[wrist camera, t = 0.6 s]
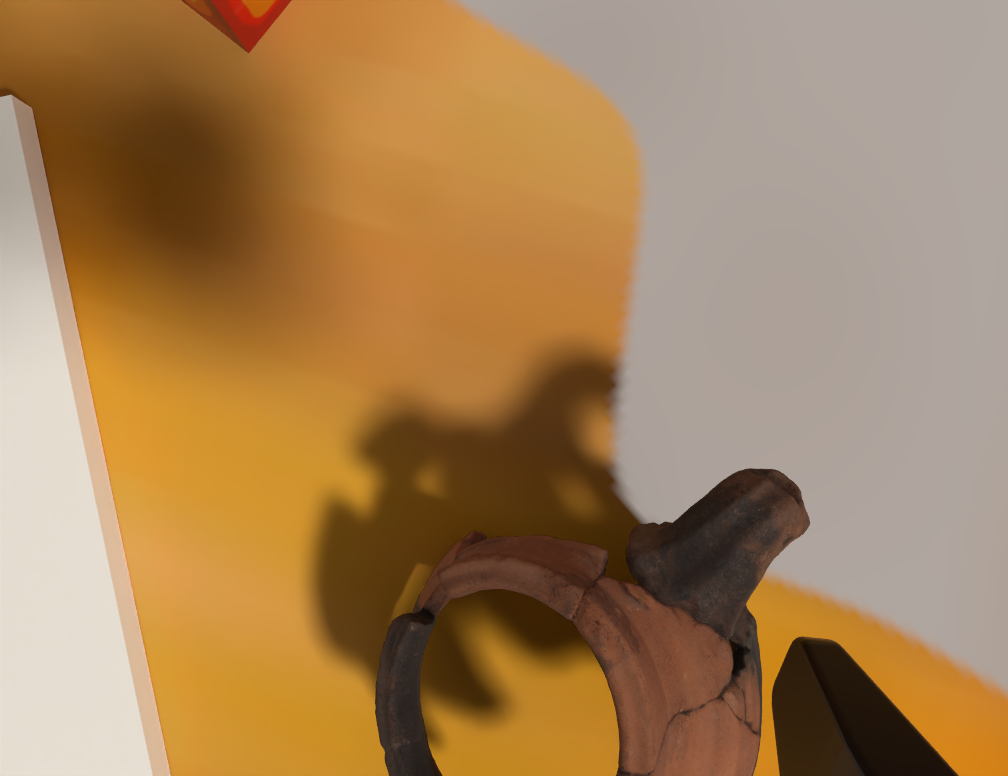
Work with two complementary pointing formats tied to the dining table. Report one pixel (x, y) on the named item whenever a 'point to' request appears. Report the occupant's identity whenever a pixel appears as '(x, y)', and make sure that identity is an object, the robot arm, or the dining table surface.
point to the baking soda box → (240, 17)
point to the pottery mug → (629, 627)
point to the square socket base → (58, 516)
